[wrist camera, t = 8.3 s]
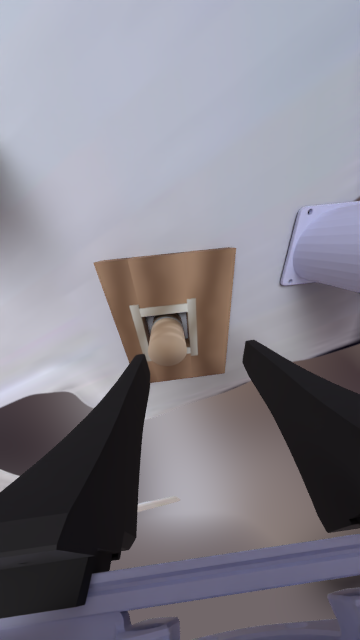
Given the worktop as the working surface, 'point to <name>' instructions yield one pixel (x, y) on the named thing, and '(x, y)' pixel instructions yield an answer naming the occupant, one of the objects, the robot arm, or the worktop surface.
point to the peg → (167, 340)
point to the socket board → (173, 305)
